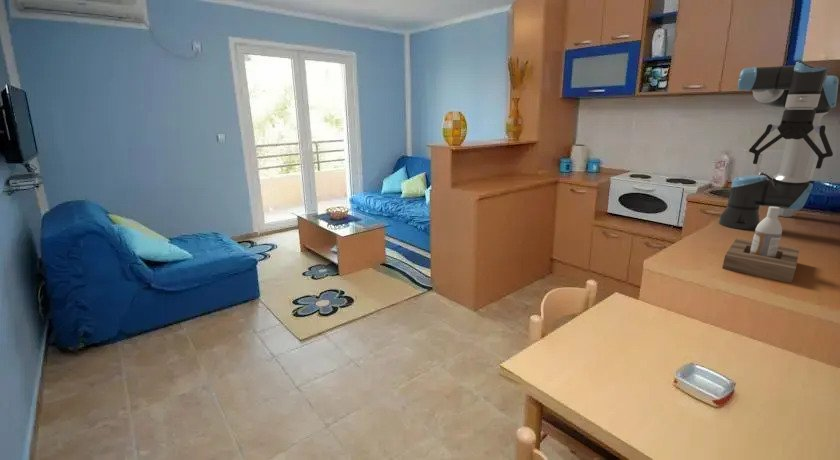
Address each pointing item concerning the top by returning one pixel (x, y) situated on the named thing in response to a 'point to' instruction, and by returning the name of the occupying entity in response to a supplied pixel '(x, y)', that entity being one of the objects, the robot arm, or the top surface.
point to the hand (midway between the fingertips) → (782, 176)
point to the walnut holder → (761, 261)
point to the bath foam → (767, 234)
